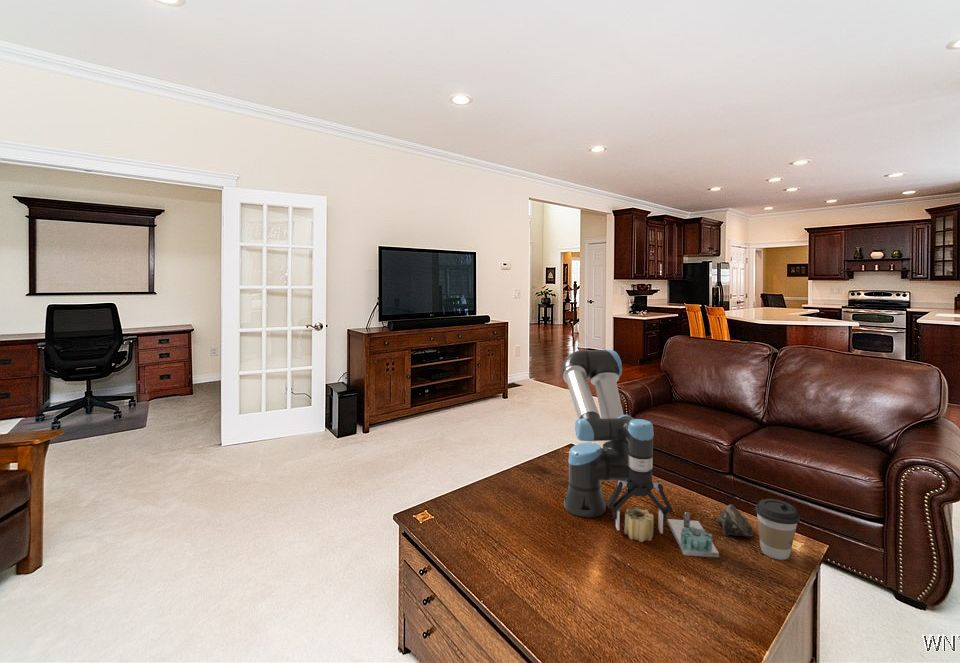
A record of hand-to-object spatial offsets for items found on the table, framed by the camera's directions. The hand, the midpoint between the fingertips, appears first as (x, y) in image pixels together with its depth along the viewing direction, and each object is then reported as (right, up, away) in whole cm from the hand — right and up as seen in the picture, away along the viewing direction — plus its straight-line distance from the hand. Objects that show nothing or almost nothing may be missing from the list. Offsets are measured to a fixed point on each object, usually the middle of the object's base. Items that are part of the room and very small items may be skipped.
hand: (638, 529), depth 143 cm
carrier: (+16, -2, -3) cm, 16 cm away
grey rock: (+33, -1, +1) cm, 32 cm away
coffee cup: (+38, -2, -11) cm, 39 cm away
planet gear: (0, -2, 0) cm, 2 cm away
